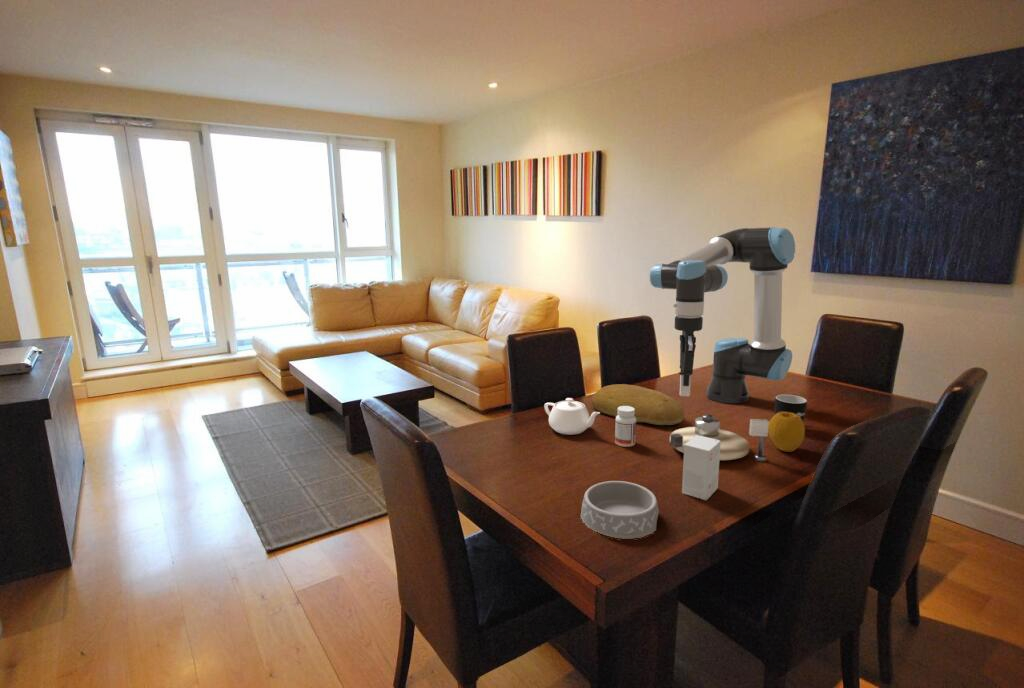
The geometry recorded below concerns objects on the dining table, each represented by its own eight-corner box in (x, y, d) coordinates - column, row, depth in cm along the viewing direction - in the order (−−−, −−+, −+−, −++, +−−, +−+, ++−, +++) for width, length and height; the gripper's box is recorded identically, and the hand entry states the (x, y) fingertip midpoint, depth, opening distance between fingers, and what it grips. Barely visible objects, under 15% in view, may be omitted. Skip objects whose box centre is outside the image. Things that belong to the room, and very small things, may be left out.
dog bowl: (573, 532, 113) (573, 510, 112) (591, 493, 130) (591, 473, 129) (654, 547, 107) (655, 524, 106) (661, 504, 124) (662, 483, 123)
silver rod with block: (746, 456, 148) (749, 418, 146) (763, 457, 148) (767, 418, 145) (749, 461, 146) (752, 421, 143) (767, 462, 145) (770, 422, 142)
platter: (652, 435, 160) (652, 423, 159) (715, 426, 166) (716, 414, 166) (696, 465, 139) (696, 451, 139) (766, 453, 146) (768, 439, 145)
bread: (671, 433, 167) (672, 404, 165) (581, 410, 190) (581, 384, 188) (695, 418, 180) (696, 391, 178) (608, 398, 203) (609, 373, 201)
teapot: (532, 428, 173) (531, 397, 171) (556, 417, 183) (556, 388, 181) (587, 445, 159) (588, 411, 156) (611, 432, 169) (611, 400, 166)
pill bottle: (626, 438, 163) (627, 403, 161) (639, 445, 158) (640, 409, 156) (610, 441, 161) (611, 407, 158) (623, 448, 155) (624, 413, 153)
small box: (693, 481, 135) (696, 434, 132) (718, 488, 131) (721, 440, 128) (680, 493, 129) (683, 444, 126) (706, 501, 125) (709, 450, 122)
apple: (758, 446, 155) (761, 409, 153) (781, 441, 159) (785, 404, 157) (786, 459, 147) (790, 419, 144) (810, 452, 150) (815, 414, 148)
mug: (794, 435, 163) (798, 405, 161) (767, 427, 170) (769, 398, 168) (813, 427, 169) (817, 397, 167) (786, 419, 177) (789, 391, 175)
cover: (689, 430, 161) (690, 413, 160) (709, 427, 163) (710, 411, 161) (704, 438, 154) (705, 421, 153) (723, 435, 156) (725, 418, 155)
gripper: (672, 312, 154) (668, 388, 159) (677, 319, 141) (673, 402, 146) (698, 312, 152) (694, 389, 157) (706, 319, 140) (701, 403, 145)
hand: (684, 395), depth 152 cm, fingers closed
